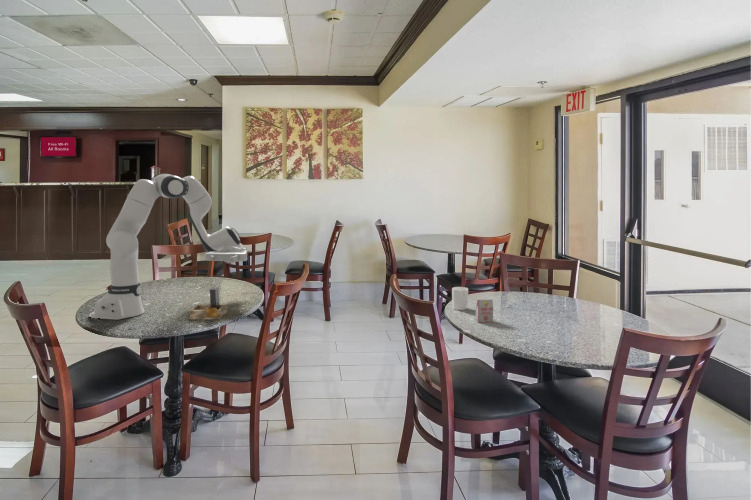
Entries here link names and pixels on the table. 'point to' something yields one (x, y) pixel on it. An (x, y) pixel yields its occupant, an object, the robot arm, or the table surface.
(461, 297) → the white cup
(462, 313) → the table surface
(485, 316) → the red and white carton
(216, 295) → the block
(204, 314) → the wooden divided box
